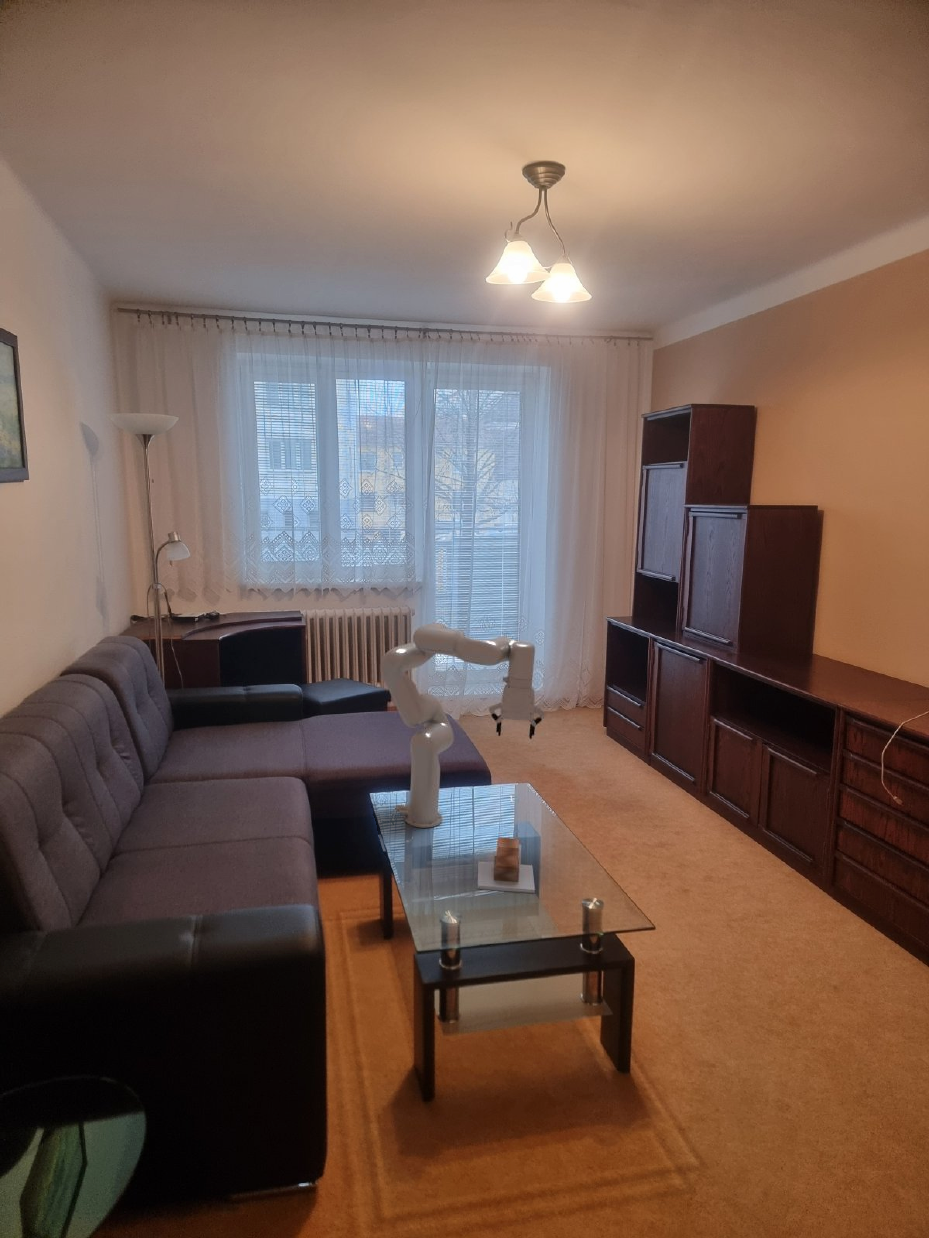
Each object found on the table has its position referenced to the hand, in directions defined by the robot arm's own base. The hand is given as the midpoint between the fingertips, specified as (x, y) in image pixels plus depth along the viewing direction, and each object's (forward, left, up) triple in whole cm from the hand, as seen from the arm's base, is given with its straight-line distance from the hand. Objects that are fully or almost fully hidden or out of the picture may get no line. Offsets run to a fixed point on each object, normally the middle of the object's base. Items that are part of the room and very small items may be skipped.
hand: (514, 735), depth 235 cm
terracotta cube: (-1, -22, -31) cm, 38 cm away
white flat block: (-1, -22, -36) cm, 42 cm away
